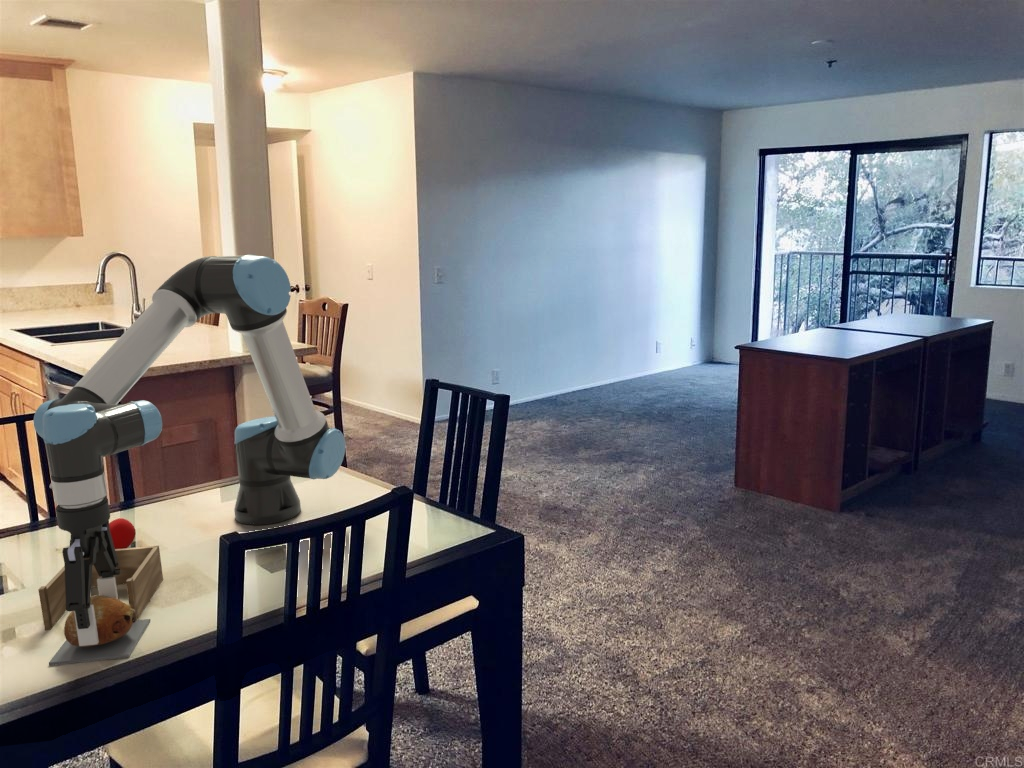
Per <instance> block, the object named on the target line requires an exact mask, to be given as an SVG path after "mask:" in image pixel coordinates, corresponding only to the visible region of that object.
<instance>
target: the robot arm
mask: <svg viewBox="0 0 1024 768" xmlns="http://www.w3.org/2000/svg"><path fill="white" fill-rule="evenodd" d="M291 289H292V288H291V283H290V279H289V276H288V274H287V271H286V270H285V269H284V267H283V265H281V264H280V263H279V262H277V260H275V259H272V258H271V257H269V256H263V255H255V254H246V255H231V256H230V255H229V256H228V255H225V256H224V255H223V256H219V255H218V256H217V255H214V256H213V255H209V256H208V255H207V256H204V257H200V258H197V259H195V260H193V261H191V262H189V263H187V264H186V265H184V266H183V267H181V268H180V269H179V270H177V271H176V272H175V273H174V274H172V275H171V276H170V277H169V278H167V279H166V280H165V281H164V282H163V283H162V284H161V285H160V286H159V287H158V289H156V291H155V292H154V293H153V294H152V296H151V300H152V302H151V303H150V305H149V306H148V307H147V308H146V309H145V310H144V311H143V312H142V313H141V314H140V315H139V317H138V318H137V319H135V321H134V322H133V323H132V324H130V326H129V327H128V328H127V329H126V331H124V332H123V333H122V335H121V336H120V337H118V339H117V340H116V341H115V342H114V343H113V344H112V345H111V346H110V347H109V348H108V350H107V351H106V352H105V353H104V354H103V355H102V356H101V357H100V358H99V359H98V360H97V361H96V363H94V365H92V367H91V368H90V369H89V370H88V371H87V372H86V373H85V374H84V375H83V376H82V378H80V380H78V382H76V384H75V385H74V386H73V387H72V388H71V389H70V390H69V391H68V392H66V394H65V395H64V396H63V397H62V398H56V399H50V400H49V399H48V400H47V401H45V402H43V403H42V404H40V405H39V406H37V409H36V410H35V413H34V415H33V421H32V422H33V427H34V430H35V432H36V433H37V434H38V436H39V437H41V439H42V440H43V443H44V445H45V451H46V458H47V463H48V468H49V475H50V479H51V480H50V481H51V482H50V484H49V489H51V490H52V492H53V493H52V494H53V500H54V503H55V504H56V507H55V513H56V514H55V515H56V522H57V527H58V528H59V529H60V530H61V531H63V532H64V531H65V532H68V533H69V534H70V540H69V547H63V549H62V552H61V553H62V558H63V562H64V563H63V564H64V566H65V592H66V611H65V612H71V611H74V615H75V621H76V628H77V634H78V641H79V646H86V645H96V644H98V643H99V639H98V632H97V626H96V619H95V612H94V606H93V605H90V601H91V597H92V587H91V582H92V566H93V565H94V567H95V569H96V571H97V573H98V575H99V577H101V576H102V578H98V579H97V585H98V587H97V589H98V595H105V596H108V597H111V598H115V599H119V595H118V588H117V585H116V580H115V577H113V575H120V568H119V569H115V568H116V567H118V566H119V563H118V559H117V555H116V551H115V548H114V544H113V540H112V537H111V533H110V528H109V523H110V519H111V513H110V512H111V511H110V505H109V500H108V498H107V497H106V496H107V495H108V489H107V488H108V487H107V482H106V475H105V469H104V459H103V458H105V457H106V458H107V457H109V456H111V455H114V454H119V453H121V452H124V451H127V450H130V449H134V448H136V447H142V446H144V445H145V444H147V443H151V442H152V441H155V440H156V439H157V438H158V437H159V436H160V435H161V432H162V430H163V420H162V414H161V413H160V410H159V409H158V407H156V405H154V404H153V403H152V402H150V401H148V400H144V399H141V400H137V401H133V400H131V401H129V402H127V403H123V404H119V402H121V401H122V399H123V398H124V397H125V396H126V395H127V394H128V392H129V391H130V390H131V389H132V387H134V385H136V383H137V382H138V381H139V380H140V379H141V377H142V376H144V374H146V372H147V371H148V370H149V368H150V367H151V366H152V365H153V364H154V363H155V362H156V361H157V359H158V358H159V357H160V356H161V355H162V354H163V352H165V350H166V349H167V348H169V346H170V345H171V343H173V341H174V340H175V339H176V337H177V336H179V334H180V333H181V332H182V331H183V330H184V329H185V328H191V327H193V326H194V325H195V324H196V323H197V322H198V321H199V320H200V319H201V318H203V317H204V316H207V315H211V314H225V316H226V318H227V321H228V323H229V326H230V328H231V330H233V331H235V332H237V333H240V334H241V336H242V337H243V340H244V342H245V345H246V348H247V349H248V352H249V354H250V357H251V359H252V362H253V365H254V367H255V370H256V372H257V375H258V377H259V380H260V382H261V384H262V387H263V390H264V391H265V395H266V397H267V399H268V402H269V404H270V408H271V410H272V412H273V415H274V416H265V417H260V418H255V419H251V420H247V421H245V422H243V423H240V424H238V425H237V426H236V427H235V429H234V442H233V443H234V449H235V456H236V465H237V473H238V474H237V475H238V482H239V483H238V485H239V487H238V491H237V497H236V501H235V505H234V517H235V518H234V519H235V521H236V522H238V523H240V524H244V525H250V526H251V525H252V526H256V525H259V526H262V525H270V524H276V523H280V522H283V521H288V520H289V519H292V518H294V517H295V516H297V515H299V514H300V512H301V510H302V508H301V507H302V506H301V499H300V498H299V495H298V492H297V491H296V488H295V486H294V484H293V482H292V479H291V477H294V478H295V477H296V478H302V479H303V478H304V479H311V480H317V479H318V480H327V479H331V477H333V476H334V475H335V474H337V472H338V471H339V469H340V467H341V465H342V463H343V461H344V457H345V454H346V441H345V440H346V439H345V436H344V434H343V433H342V431H341V430H339V429H337V428H336V427H333V428H330V427H329V424H328V421H327V419H326V416H325V414H324V413H323V412H321V411H319V410H316V408H315V406H314V403H313V400H312V398H311V394H310V392H309V389H308V386H307V384H306V381H305V379H304V375H303V373H302V370H301V366H300V365H299V361H298V359H297V356H296V354H295V351H294V349H293V345H292V343H291V340H290V337H289V334H288V331H287V329H286V325H285V323H284V318H285V317H286V315H287V312H288V310H287V307H288V306H289V303H290V301H291V294H290V293H291V291H292V290H291ZM88 558H89V559H88ZM84 559H86V560H84Z"/></svg>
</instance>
